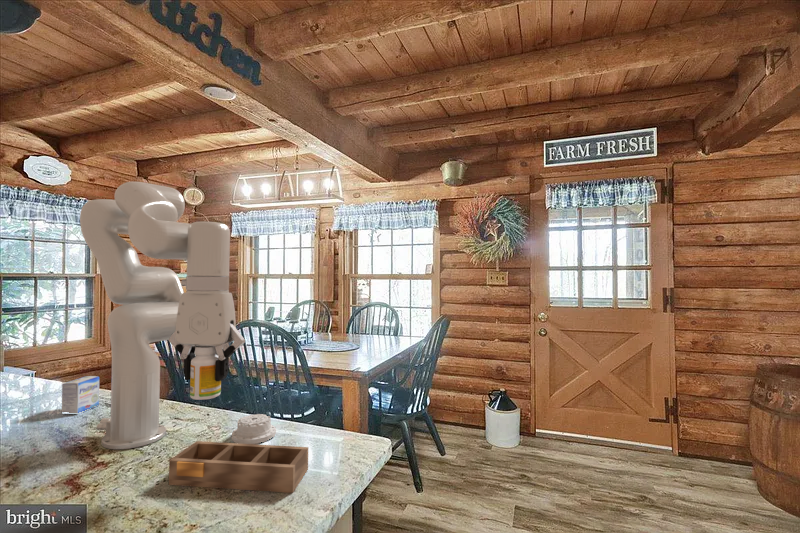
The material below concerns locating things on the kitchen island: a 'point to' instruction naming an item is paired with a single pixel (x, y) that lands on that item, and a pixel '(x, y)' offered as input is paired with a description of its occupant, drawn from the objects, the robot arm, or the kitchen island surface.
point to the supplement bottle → (204, 374)
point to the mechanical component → (253, 429)
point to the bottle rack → (239, 466)
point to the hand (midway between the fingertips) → (206, 377)
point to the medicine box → (80, 394)
